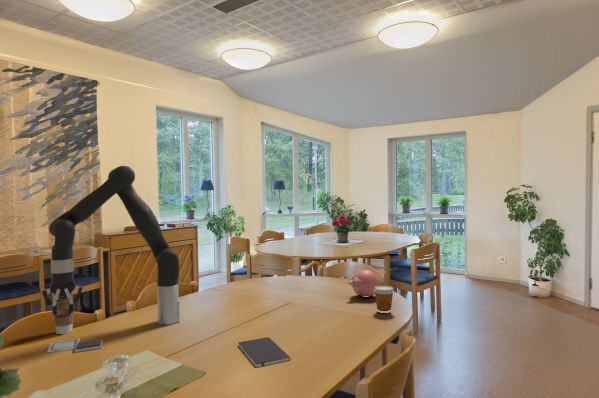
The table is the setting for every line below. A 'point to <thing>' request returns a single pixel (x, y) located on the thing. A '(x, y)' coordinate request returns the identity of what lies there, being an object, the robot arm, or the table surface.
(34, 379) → the table surface
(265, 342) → the notebook
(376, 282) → the pink rounded piece
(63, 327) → the coffee cup
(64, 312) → the stamp
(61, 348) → the card
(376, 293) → the disposable coffee cup
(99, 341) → the inkpad
